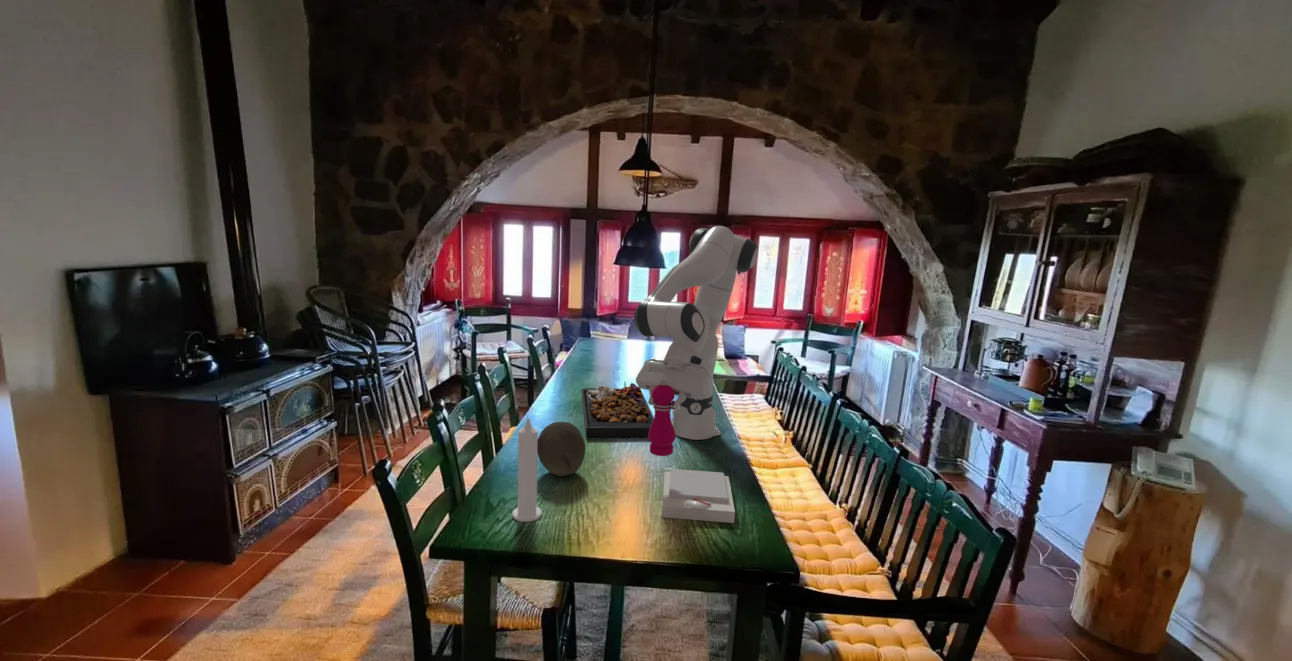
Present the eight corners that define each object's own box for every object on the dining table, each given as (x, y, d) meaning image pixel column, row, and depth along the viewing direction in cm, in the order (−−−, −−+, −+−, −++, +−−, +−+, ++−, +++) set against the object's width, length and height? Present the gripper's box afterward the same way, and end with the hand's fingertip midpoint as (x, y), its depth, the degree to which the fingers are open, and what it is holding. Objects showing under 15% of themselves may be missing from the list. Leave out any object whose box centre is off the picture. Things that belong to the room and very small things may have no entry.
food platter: (581, 399, 231) (582, 374, 229) (640, 399, 234) (641, 375, 233) (586, 440, 187) (587, 411, 185) (658, 439, 191) (659, 411, 189)
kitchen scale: (664, 481, 158) (665, 467, 158) (727, 486, 157) (728, 472, 157) (661, 517, 139) (662, 502, 138) (734, 523, 138) (735, 507, 137)
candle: (512, 523, 132) (513, 423, 128) (511, 508, 139) (512, 413, 134) (542, 520, 134) (544, 422, 130) (540, 506, 141) (542, 412, 136)
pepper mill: (659, 444, 154) (661, 374, 150) (680, 451, 149) (683, 379, 145) (642, 451, 148) (644, 379, 145) (663, 459, 144) (665, 384, 140)
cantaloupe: (592, 467, 165) (593, 419, 162) (573, 488, 152) (574, 436, 149) (548, 460, 169) (549, 412, 166) (526, 479, 155) (527, 428, 152)
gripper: (643, 351, 155) (624, 393, 148) (711, 361, 145) (694, 407, 139) (650, 363, 160) (632, 405, 153) (716, 374, 150) (700, 419, 143)
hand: (662, 406), depth 146 cm, fingers closed on pepper mill, 5 cm apart
